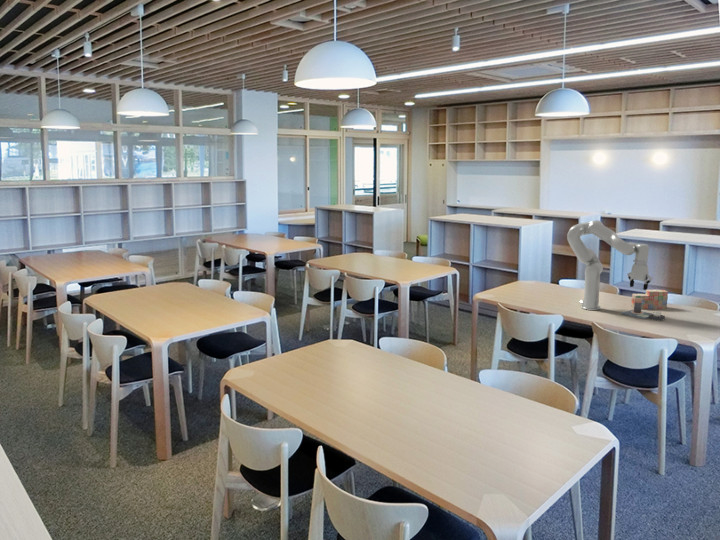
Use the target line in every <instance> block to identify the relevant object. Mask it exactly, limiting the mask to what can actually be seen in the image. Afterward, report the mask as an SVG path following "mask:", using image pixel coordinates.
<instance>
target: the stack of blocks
mask: <svg viewBox="0 0 720 540" xmlns="http://www.w3.org/2000/svg"><path fill="white" fill-rule="evenodd" d="M668 295H669V292H668V290H665V289H647V290H645V293H632V294H631V307H632V308H633V309H634V299H635V298H641V299H642V306H641V310H644V309H647V310H649V309H650V310H651V309H655V310H659V309H661V310H667V308H668V297H669V296H668Z"/></svg>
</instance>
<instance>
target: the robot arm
mask: <svg viewBox="0 0 720 540" xmlns="http://www.w3.org/2000/svg"><path fill="white" fill-rule="evenodd" d="M591 234H592V235H593V236H595V237H597V238H599V239H600V240H602V241H604V242H605V243H606V244H607V245H609V246H610V247H612V248H613V249H615V250H616V251H618V252H620V253H621V254H623V255H625V256H632V255H633V254H635V255H634V256H635V257H634V259H633V264H632V267H631V272H628V273H627V274H626V275H627V278H628V280H629V287H630V288H632V287H634V285H635V281H640V282H641V281H642V282H643V287H642V288H643V289H642V290H644V291H646V290H648V286H649V283H651V282H652V280H653V277H652V276H650V275H649V265H648V259H649V249H650V245H649V244H646V243H636V242H631V241H630V242H627V241H625V240H623V239H621V237H619V236H618V234H617V233H616V231H614V230H612V229H611V228H608V226H605V225H604V224H603V222H602V221H600V220H593V221H586V222H582V223H581V222H580V223H577V224H574V225H572V226H571V227H570V228H569V230H568V232H567V234H566V238H567V242H568V244H569V246H570V248H571V249H572V251H573V253H574V255H575V256H576V258H577V260H578V261H579V262H580V263H581V264H584V265H585V266H586V267H585V270H584V296H583V299H580V301H579V304H581V306H580V307H581V309H583V310H586V309H587V310H586V311H600V310H601V308H602V307H601V306H600V305H599V303H600V287H601V285H600V284H601V273H602V272H603V271H604V270H603V269H604V265H603V264H602V262H601V261H600V258H599V257H598V256H597V254H596V253H595V251H594V250H593V249H591V248H589V247H587V246H586V245H585V243H584V241H583V240H582V239H581V237H582V236H586V235H591ZM634 280H635V281H634Z"/></svg>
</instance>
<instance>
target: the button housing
mask: <svg viewBox="0 0 720 540" xmlns="http://www.w3.org/2000/svg"><path fill="white" fill-rule="evenodd" d="M651 314H652V315H649V318H648V319H649V320H652V319H653V320H654V321H657V320H660V321H663V319H664V320H666V319H665V318H666V315H663V314H661V316H660V317H657V316H653V313H651Z"/></svg>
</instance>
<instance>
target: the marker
mask: <svg viewBox="0 0 720 540" xmlns="http://www.w3.org/2000/svg"><path fill="white" fill-rule="evenodd" d="M641 306H642V299H641V298H635V299H634V308H633V310H634V312H635V313H641V311H642V309H641Z"/></svg>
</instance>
